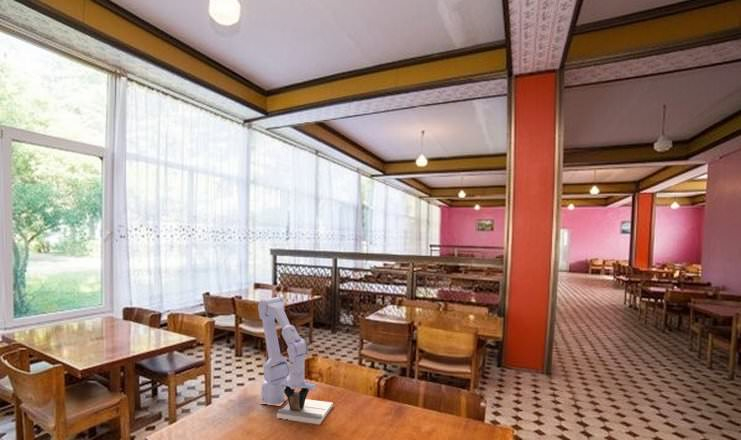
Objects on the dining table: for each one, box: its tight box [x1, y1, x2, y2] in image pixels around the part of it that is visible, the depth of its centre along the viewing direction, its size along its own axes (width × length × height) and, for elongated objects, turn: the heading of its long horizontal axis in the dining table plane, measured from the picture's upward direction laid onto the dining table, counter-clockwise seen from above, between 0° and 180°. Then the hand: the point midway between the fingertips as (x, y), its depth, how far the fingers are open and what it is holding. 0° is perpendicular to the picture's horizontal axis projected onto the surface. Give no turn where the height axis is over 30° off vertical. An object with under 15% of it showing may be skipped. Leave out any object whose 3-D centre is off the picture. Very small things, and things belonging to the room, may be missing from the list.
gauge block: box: [290, 391, 304, 412], centre depth 133 cm, size 4×4×6 cm
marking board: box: [276, 398, 334, 425], centre depth 134 cm, size 18×14×2 cm
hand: (296, 406), depth 133 cm, fingers closed on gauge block, 4 cm apart
